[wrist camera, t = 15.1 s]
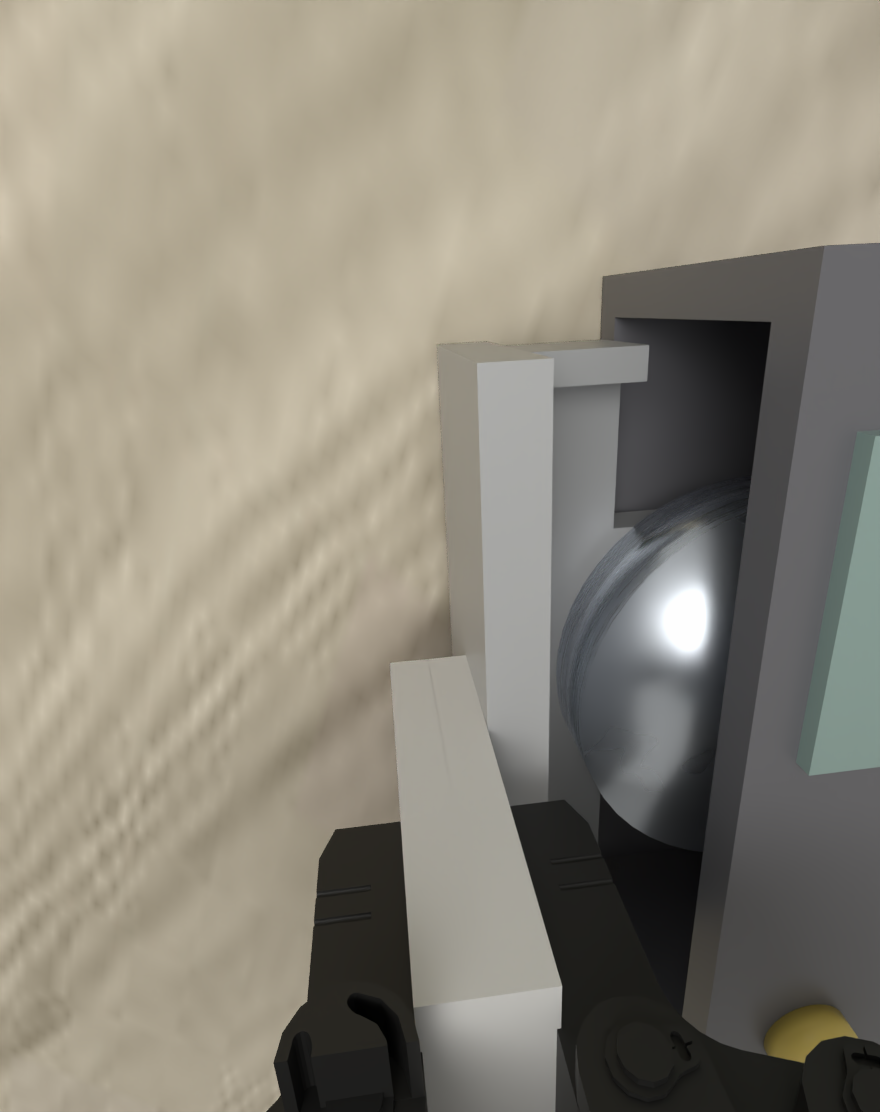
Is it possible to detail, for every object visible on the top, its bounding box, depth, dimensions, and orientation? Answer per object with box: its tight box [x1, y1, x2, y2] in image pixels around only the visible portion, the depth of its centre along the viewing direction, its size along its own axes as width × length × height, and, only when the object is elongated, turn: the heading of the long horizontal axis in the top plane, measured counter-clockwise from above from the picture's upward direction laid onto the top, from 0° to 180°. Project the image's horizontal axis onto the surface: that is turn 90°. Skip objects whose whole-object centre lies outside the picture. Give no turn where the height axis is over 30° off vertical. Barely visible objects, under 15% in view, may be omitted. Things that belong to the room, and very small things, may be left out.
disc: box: [556, 476, 752, 852], centre depth 14 cm, size 8×8×2 cm
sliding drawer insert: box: [437, 340, 657, 844], centre depth 14 cm, size 17×14×5 cm
